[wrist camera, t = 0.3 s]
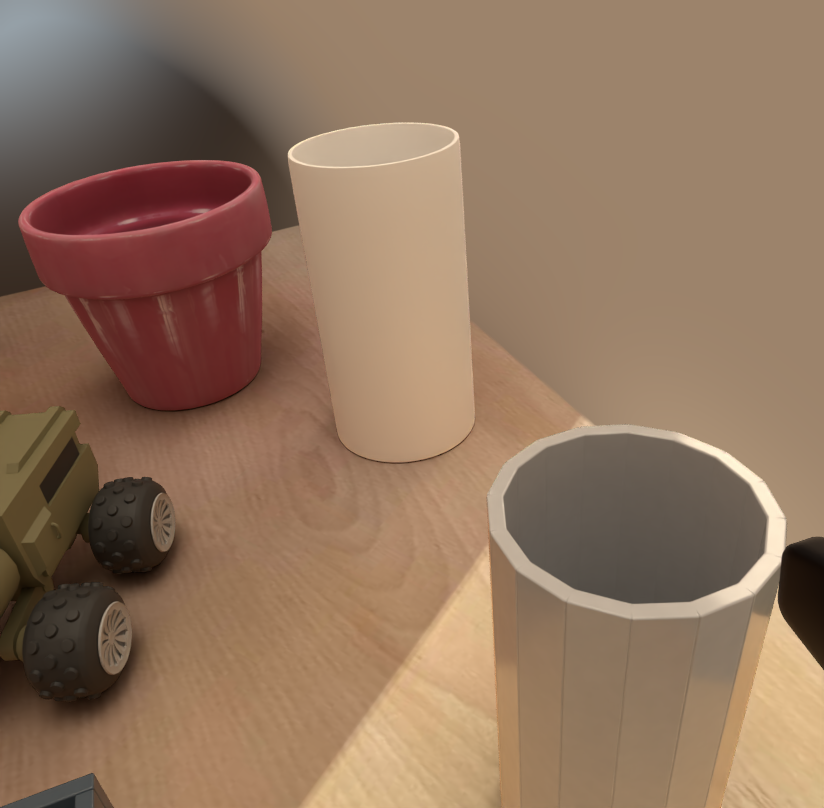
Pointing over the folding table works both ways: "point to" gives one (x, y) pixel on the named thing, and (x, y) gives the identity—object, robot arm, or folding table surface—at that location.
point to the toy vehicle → (54, 534)
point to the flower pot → (161, 273)
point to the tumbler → (626, 616)
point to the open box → (68, 796)
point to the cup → (389, 284)
